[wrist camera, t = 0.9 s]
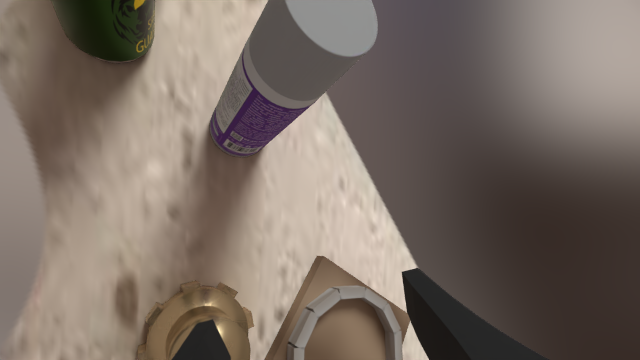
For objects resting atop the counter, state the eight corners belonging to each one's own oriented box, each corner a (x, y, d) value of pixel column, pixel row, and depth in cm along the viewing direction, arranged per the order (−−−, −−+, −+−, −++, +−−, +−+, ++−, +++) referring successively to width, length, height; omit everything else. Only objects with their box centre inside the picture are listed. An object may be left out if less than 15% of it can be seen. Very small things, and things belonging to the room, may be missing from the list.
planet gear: (209, 404, 20) (229, 458, 15) (112, 363, 18) (97, 409, 13) (263, 306, 23) (295, 324, 18) (184, 262, 21) (195, 267, 16)
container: (276, 133, 26) (396, 26, 14) (240, 169, 24) (342, 82, 11) (237, 92, 25) (327, -66, 12) (195, 126, 23) (252, -24, 10)
